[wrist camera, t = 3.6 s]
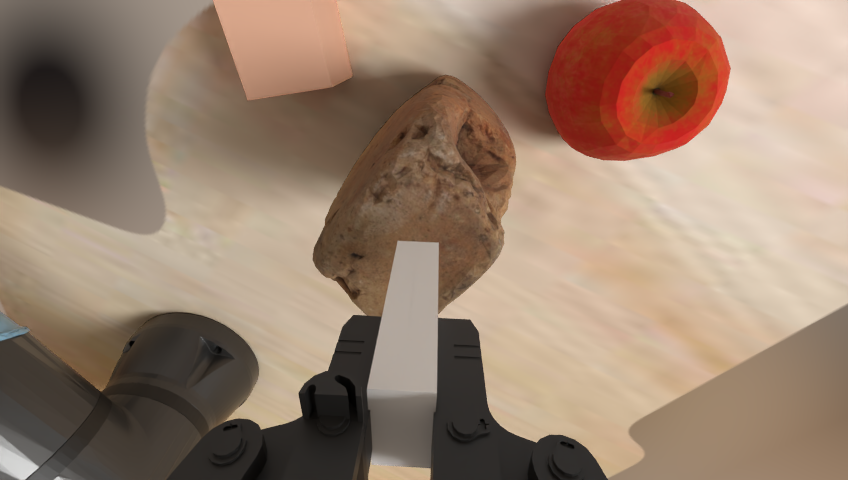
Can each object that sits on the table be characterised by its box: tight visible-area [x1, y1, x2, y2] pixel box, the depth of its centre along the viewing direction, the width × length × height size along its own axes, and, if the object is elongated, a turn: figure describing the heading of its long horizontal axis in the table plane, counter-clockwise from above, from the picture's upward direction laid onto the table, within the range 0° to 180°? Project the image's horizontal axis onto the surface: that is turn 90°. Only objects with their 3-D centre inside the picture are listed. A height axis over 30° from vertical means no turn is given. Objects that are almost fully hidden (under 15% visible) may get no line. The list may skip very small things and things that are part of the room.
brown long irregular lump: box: [313, 75, 516, 316], centre depth 25 cm, size 11×8×20 cm
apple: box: [545, 0, 731, 161], centre depth 26 cm, size 11×11×11 cm
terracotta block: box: [213, 0, 353, 101], centre depth 28 cm, size 6×6×7 cm
